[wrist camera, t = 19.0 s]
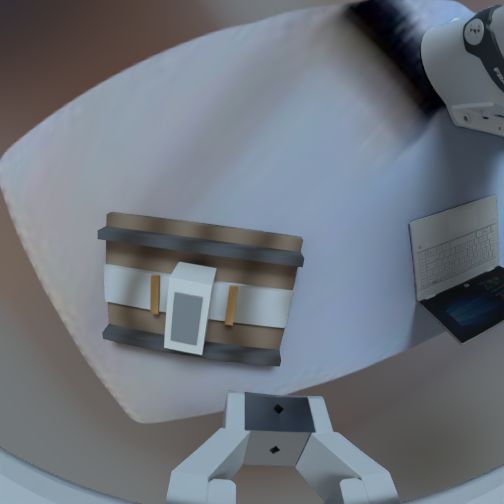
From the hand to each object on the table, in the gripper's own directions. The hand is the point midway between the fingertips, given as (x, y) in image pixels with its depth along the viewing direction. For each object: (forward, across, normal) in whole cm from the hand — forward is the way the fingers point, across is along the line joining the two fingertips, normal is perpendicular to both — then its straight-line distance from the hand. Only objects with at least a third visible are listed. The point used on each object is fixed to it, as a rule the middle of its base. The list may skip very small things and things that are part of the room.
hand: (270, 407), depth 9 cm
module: (+27, +6, +10) cm, 29 cm away
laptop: (+30, -31, -2) cm, 43 cm away
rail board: (+29, +6, +10) cm, 31 cm away
